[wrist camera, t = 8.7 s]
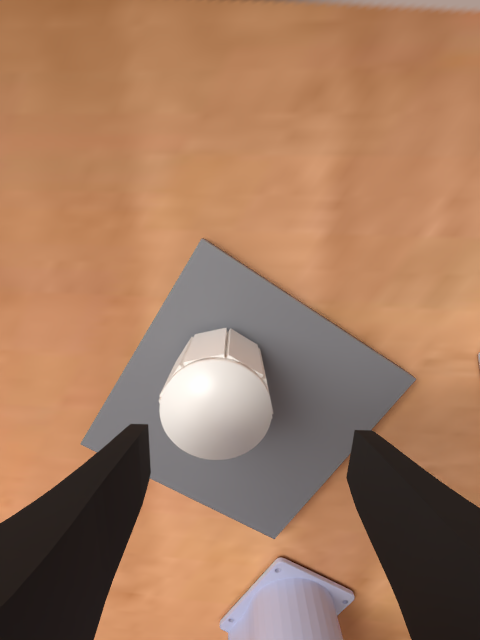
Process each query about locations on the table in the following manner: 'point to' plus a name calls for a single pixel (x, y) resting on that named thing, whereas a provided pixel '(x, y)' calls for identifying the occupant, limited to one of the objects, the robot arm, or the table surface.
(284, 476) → the base plate
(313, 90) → the table surface
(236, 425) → the cap
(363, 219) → the table surface
